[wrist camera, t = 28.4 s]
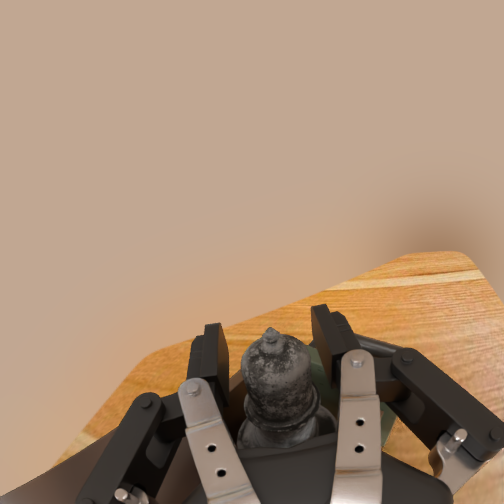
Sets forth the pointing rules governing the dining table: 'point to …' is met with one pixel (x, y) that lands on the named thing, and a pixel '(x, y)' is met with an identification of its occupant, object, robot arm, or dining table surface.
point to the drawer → (328, 396)
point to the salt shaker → (280, 395)
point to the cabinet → (81, 465)
